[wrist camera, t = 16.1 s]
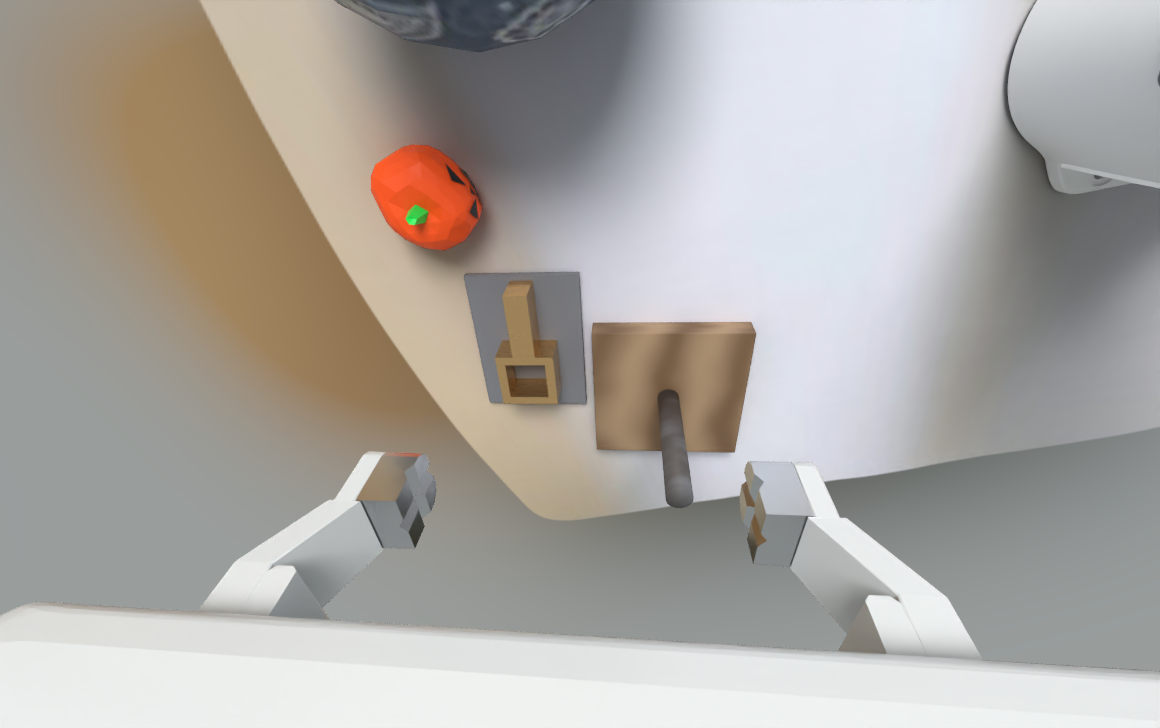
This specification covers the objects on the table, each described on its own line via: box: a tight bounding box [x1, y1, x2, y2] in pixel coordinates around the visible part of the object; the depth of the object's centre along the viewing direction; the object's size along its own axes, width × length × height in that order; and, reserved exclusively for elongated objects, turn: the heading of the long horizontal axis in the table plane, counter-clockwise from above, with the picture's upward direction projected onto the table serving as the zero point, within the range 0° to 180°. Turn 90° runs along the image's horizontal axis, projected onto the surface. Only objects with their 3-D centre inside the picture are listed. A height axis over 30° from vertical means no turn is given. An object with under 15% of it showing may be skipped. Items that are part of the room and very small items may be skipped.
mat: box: [464, 272, 587, 404], centre depth 44 cm, size 10×14×1 cm
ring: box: [495, 280, 562, 404], centre depth 42 cm, size 5×11×3 cm, turn 3°
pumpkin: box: [371, 145, 482, 250], centre depth 35 cm, size 7×8×6 cm
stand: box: [592, 322, 756, 508], centre depth 40 cm, size 14×14×14 cm
